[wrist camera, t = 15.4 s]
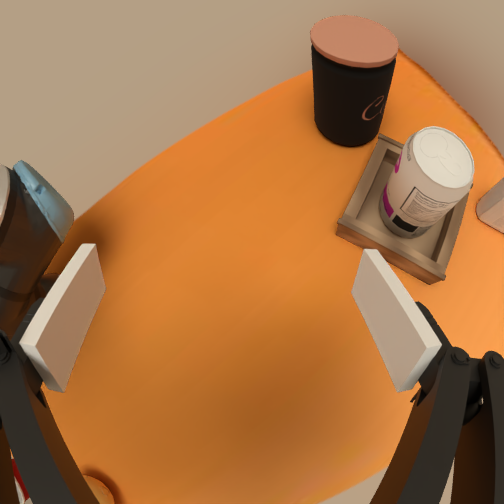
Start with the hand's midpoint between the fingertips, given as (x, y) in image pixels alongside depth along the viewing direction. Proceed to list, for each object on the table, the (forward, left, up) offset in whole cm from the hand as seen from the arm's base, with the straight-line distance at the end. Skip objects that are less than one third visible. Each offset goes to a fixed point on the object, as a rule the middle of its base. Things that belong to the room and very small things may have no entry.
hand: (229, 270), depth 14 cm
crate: (+9, +19, -26) cm, 34 cm away
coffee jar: (-4, +30, -26) cm, 40 cm away
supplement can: (+9, +19, -25) cm, 33 cm away
